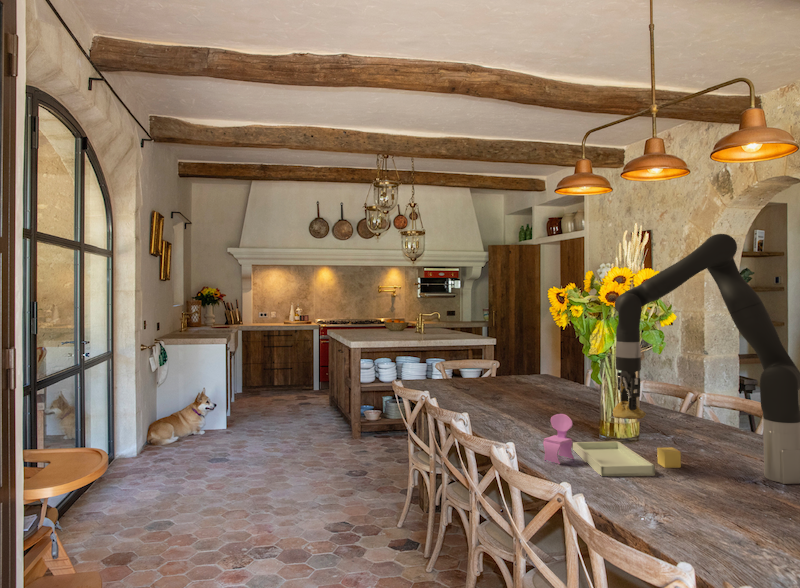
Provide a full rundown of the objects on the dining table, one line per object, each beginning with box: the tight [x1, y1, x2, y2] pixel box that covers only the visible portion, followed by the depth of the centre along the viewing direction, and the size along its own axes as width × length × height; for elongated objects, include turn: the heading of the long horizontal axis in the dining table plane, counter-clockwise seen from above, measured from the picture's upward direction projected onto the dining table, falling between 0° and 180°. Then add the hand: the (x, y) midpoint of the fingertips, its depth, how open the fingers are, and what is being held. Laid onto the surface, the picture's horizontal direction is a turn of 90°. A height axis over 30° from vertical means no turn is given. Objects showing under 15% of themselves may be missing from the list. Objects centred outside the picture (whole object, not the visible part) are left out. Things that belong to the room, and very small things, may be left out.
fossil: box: [612, 400, 647, 420], centre depth 180 cm, size 11×6×10 cm
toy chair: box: [542, 413, 575, 465], centre depth 185 cm, size 8×9×15 cm
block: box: [656, 447, 682, 469], centre depth 178 cm, size 5×5×5 cm
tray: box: [572, 440, 656, 477], centre depth 182 cm, size 28×16×3 cm, turn 0°
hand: (628, 407), depth 181 cm, fingers closed on fossil, 6 cm apart
